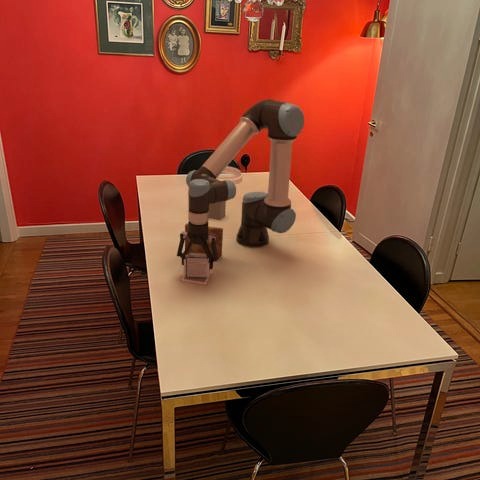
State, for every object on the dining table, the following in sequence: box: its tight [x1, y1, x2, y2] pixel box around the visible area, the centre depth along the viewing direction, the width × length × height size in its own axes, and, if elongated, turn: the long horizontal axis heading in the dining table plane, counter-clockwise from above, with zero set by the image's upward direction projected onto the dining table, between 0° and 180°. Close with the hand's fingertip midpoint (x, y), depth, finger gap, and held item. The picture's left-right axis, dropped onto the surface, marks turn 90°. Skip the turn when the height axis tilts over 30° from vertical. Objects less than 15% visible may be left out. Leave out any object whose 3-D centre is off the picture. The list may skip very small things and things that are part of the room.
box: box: [186, 253, 209, 278], centre depth 182 cm, size 8×4×9 cm, turn 92°
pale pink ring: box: [216, 165, 243, 185], centre depth 301 cm, size 27×27×6 cm
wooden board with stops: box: [184, 222, 224, 260], centre depth 200 cm, size 16×5×13 cm, turn 79°
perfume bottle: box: [209, 201, 227, 221], centre depth 239 cm, size 7×7×18 cm
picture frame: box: [180, 271, 213, 286], centre depth 184 cm, size 10×10×1 cm
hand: (197, 274), depth 184 cm, fingers closed on box, 9 cm apart
